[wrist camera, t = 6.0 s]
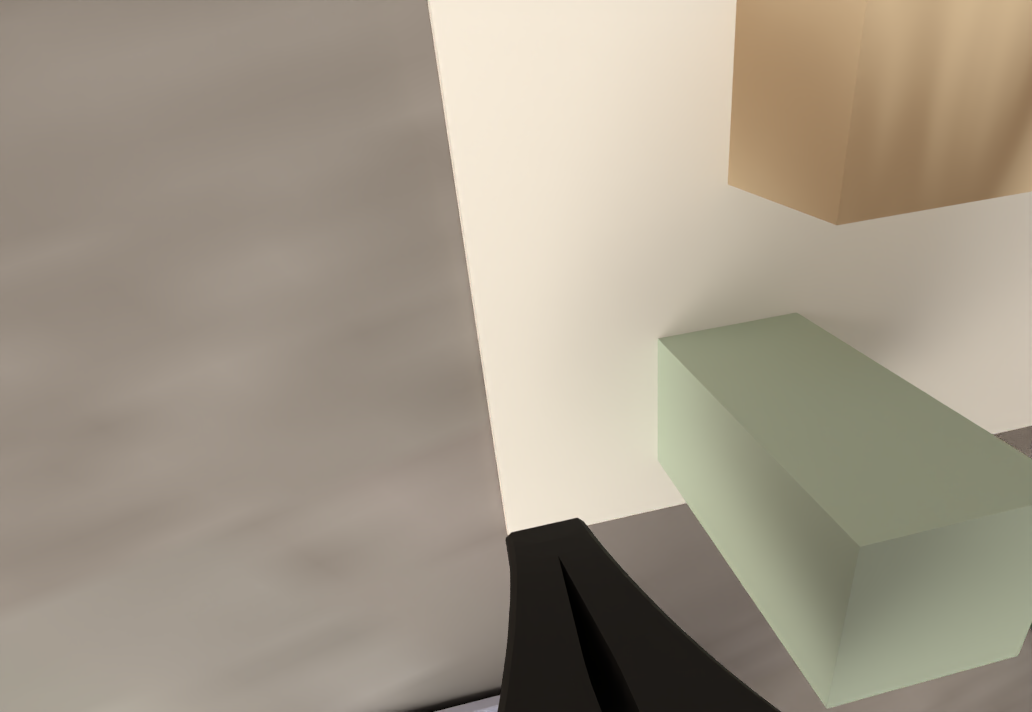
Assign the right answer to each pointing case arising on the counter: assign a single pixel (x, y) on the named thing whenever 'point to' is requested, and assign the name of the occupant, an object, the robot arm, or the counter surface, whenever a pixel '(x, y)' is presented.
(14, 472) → the counter surface
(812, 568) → the sage block
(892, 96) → the oak block
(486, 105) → the mat
